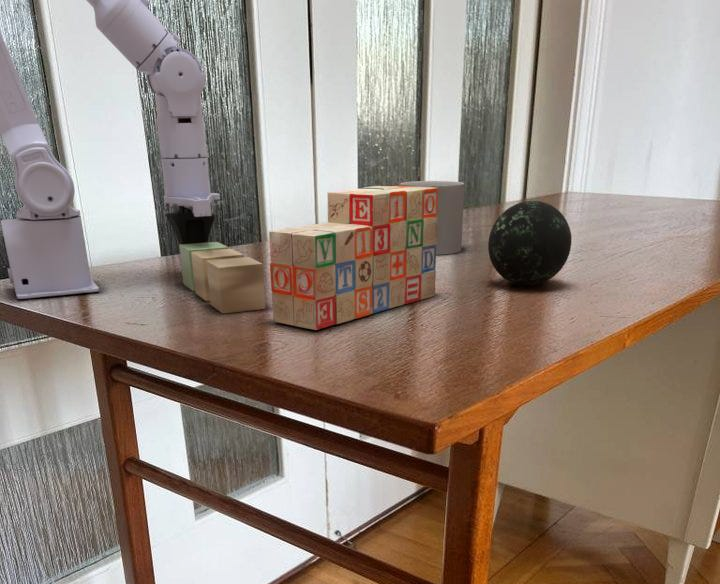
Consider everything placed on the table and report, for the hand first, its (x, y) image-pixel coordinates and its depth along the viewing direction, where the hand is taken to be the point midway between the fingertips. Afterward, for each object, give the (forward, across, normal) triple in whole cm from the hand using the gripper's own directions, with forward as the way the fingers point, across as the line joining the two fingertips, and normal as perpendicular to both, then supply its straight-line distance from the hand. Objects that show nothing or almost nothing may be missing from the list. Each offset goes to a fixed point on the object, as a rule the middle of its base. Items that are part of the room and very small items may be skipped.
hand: (195, 268), depth 101 cm
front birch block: (+1, -19, 0) cm, 19 cm away
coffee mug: (+2, +7, -41) cm, 42 cm away
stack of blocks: (+2, -26, -12) cm, 29 cm away
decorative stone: (+2, -24, -36) cm, 43 cm away
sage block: (+1, -5, 0) cm, 5 cm away
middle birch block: (+1, -12, 0) cm, 12 cm away
